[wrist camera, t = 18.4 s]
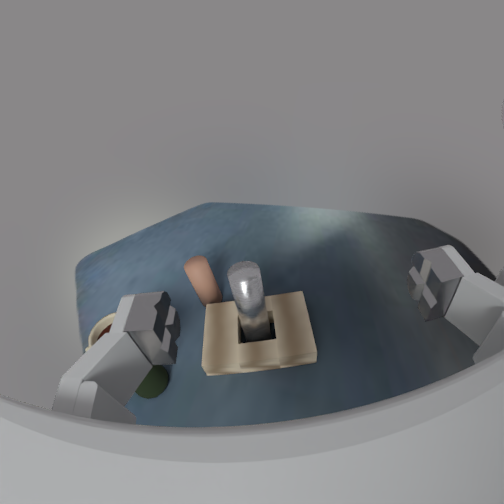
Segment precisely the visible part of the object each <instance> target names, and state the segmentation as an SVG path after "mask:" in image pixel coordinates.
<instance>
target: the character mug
mask: <svg viewBox="0 0 504 504" xmlns="http://www.w3.org/2000/svg"><path fill="white" fill-rule="evenodd" d="M115 314H116V312H115V313H111V314H109V315H107V316H105V317H103V318H102V319H101V320H100V321H98V322H97V323H96V325H95V326H94V327H93V329H92V330H91V333H90V335H89V338H88V340H89V346H88V347H87V348H86V349H85V350H86V352H87V351H88V350H89V349H90V348H91V347H92V346H93V345H94V344H95V343H96V342H97V341H98V340H99V339H100V338H101V337H102V336H103V335H104V334H105V333H109V332H110V329H111V326H112V323H113V320H114V317H115ZM152 366H153V367H152V368H151V370H150V371H149V372H148V374H147V375H146V377H145V378H144V379H143V381H142V382H141V384H140V385H139V386H138V388H137V389H136V391H135V392H136V393H137V394H138V395H139V396H140V397H144V398H147V399H149V398H154V397H157V396H158V395H159V394H161V393H162V392H163V391H164V389H165V387H166V386H167V383H168V374H167V371H166V369H165V368H164V367H163V366H162V365H152Z"/></svg>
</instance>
